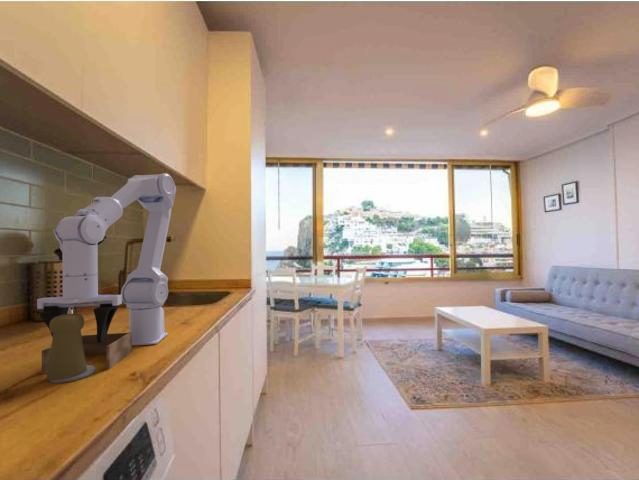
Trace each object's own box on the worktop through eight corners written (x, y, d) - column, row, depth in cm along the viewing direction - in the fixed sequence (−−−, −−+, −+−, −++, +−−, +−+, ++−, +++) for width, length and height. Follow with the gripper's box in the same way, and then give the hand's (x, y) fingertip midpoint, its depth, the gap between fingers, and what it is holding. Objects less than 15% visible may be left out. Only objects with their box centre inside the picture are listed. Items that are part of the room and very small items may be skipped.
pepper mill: (80, 365, 64) (80, 310, 65) (92, 371, 61) (92, 313, 61) (41, 375, 59) (41, 315, 60) (52, 382, 56) (52, 319, 56)
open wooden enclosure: (74, 355, 72) (74, 335, 72) (131, 351, 74) (131, 332, 74) (41, 374, 62) (41, 350, 62) (109, 369, 64) (109, 346, 64)
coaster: (63, 369, 64) (63, 366, 64) (102, 367, 65) (102, 364, 65) (39, 384, 57) (39, 381, 57) (82, 381, 58) (82, 378, 58)
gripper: (25, 278, 59) (25, 351, 59) (110, 275, 62) (110, 346, 62) (50, 274, 66) (50, 340, 66) (126, 272, 69) (126, 335, 69)
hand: (81, 342), depth 64 cm, fingers open, 7 cm apart
